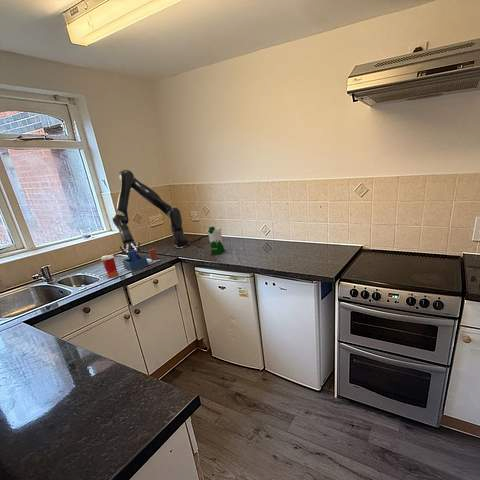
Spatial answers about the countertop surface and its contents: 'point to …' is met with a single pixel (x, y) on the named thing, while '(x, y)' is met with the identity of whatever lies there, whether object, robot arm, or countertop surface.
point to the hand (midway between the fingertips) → (133, 256)
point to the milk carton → (215, 240)
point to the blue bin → (135, 263)
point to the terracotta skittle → (153, 254)
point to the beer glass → (109, 265)
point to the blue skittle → (133, 255)
